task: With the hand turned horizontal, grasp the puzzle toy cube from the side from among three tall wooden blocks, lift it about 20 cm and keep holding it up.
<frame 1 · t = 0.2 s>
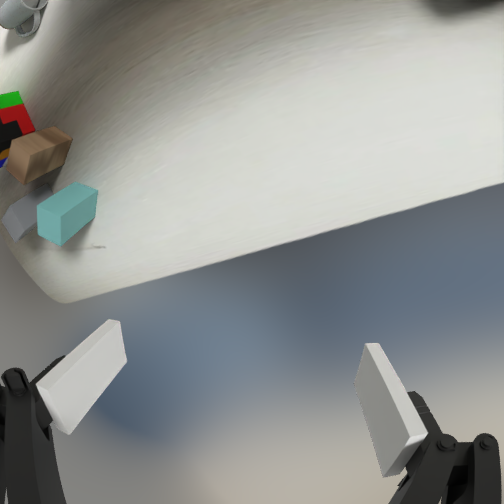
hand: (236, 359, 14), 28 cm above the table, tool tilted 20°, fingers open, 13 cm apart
ceramic mug: (36, 11, 21), on the table
charcoal block: (47, 200, 41), on the table
teal block: (85, 199, 40), on the table
puzzle toy: (15, 126, 33), on the table
walnut block: (58, 145, 35), on the table
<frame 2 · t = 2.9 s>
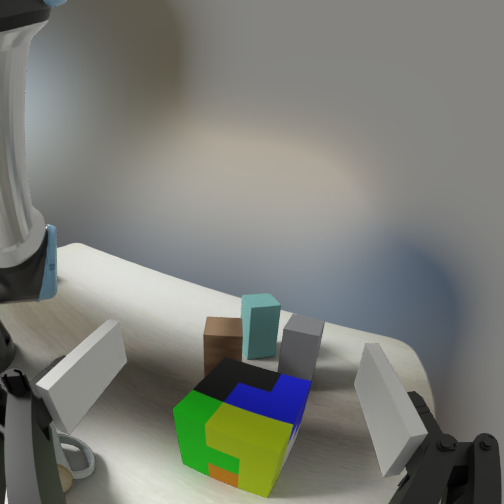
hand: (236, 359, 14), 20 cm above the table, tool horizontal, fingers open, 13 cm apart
ceramic mug: (57, 469, 17), on the table
charcoal block: (295, 377, 41), on the table
teal block: (256, 350, 48), on the table
puzzle toy: (242, 453, 26), on the table
walnut block: (223, 381, 39), on the table
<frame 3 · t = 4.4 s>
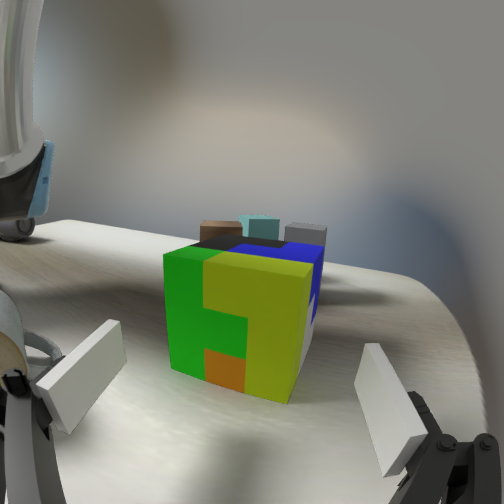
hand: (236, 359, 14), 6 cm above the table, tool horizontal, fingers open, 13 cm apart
ceramic mug: (14, 378, 15), on the table
bluetooth speaker: (10, 240, 64), on the table
charcoal block: (300, 295, 40), on the table
teal block: (255, 277, 47), on the table
puzzle toy: (247, 358, 25), on the table
walnut block: (220, 298, 37), on the table
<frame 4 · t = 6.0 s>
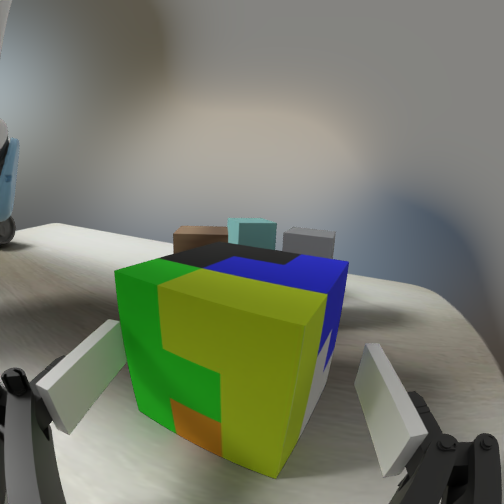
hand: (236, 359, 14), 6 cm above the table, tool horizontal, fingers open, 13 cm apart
charcoal block: (302, 317, 32), on the table
teal block: (247, 292, 39), on the table
puzzle toy: (239, 403, 18), on the table, touching gripper
walnut block: (202, 321, 30), on the table
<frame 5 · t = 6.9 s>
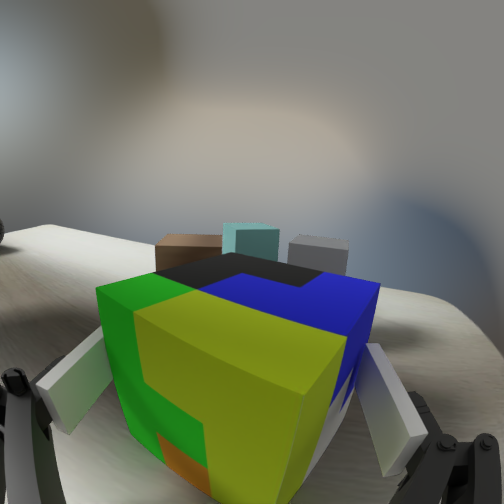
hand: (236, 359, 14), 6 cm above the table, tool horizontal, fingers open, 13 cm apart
charcoal block: (308, 338, 27), on the table
teal block: (246, 306, 34), on the table
puzzle toy: (242, 436, 15), on the table, touching gripper
walnut block: (194, 345, 25), on the table
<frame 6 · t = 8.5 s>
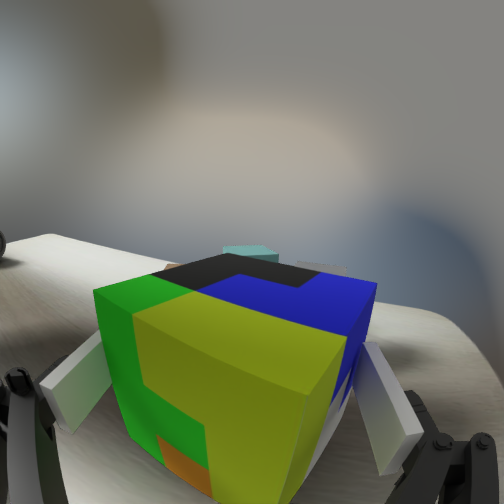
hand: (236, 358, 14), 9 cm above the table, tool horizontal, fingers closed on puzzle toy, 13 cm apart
charcoal block: (306, 361, 28), on the table
teal block: (246, 327, 35), on the table
puzzle toy: (241, 436, 15), point 2 cm above the table, touching gripper
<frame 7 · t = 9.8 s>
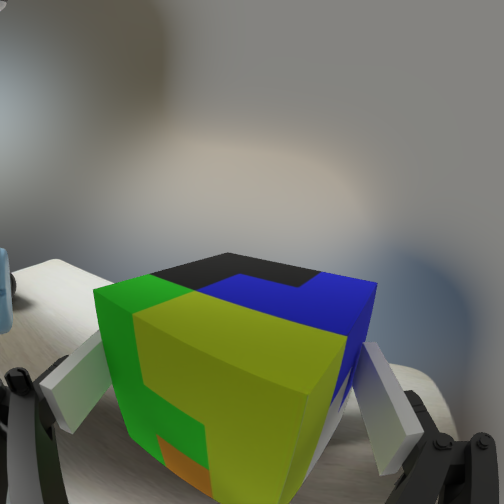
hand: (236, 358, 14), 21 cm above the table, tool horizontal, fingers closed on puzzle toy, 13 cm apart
puzzle toy: (241, 436, 15), point 14 cm above the table, touching gripper
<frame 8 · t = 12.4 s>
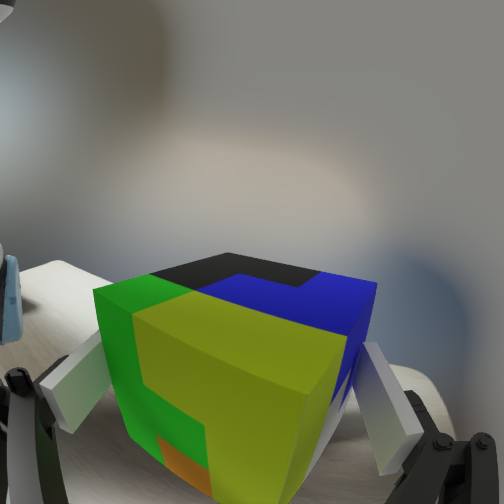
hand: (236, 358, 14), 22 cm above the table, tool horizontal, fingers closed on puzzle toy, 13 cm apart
puzzle toy: (241, 436, 15), point 16 cm above the table, touching gripper
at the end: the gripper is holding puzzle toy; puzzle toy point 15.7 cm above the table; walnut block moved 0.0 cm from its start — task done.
